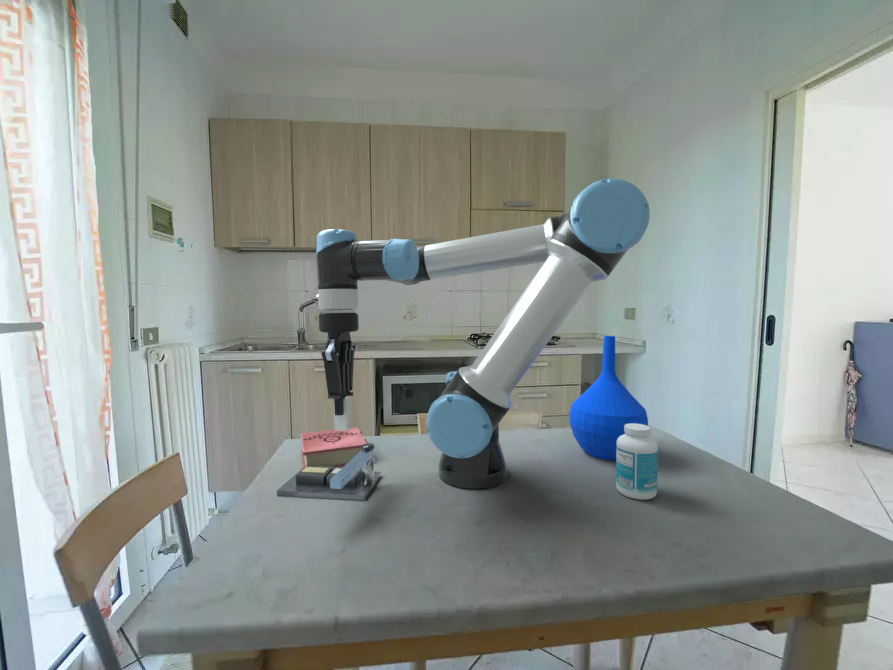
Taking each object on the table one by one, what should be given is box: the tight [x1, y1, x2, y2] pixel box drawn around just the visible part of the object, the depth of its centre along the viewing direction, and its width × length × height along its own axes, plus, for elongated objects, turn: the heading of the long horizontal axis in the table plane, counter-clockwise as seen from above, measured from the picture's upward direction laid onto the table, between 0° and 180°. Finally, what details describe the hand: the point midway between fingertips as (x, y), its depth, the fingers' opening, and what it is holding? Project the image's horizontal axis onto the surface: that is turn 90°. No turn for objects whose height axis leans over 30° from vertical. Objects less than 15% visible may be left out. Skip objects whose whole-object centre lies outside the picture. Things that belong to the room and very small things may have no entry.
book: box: [300, 426, 368, 469], centre depth 99 cm, size 14×15×5 cm
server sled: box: [276, 455, 382, 501], centre depth 83 cm, size 18×11×6 cm, turn 83°
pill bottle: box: [615, 423, 659, 501], centre depth 79 cm, size 8×7×14 cm
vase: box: [568, 335, 649, 462], centre depth 99 cm, size 18×18×30 cm
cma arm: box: [330, 442, 375, 489], centre depth 75 cm, size 16×3×2 cm, turn 170°
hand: (341, 429), depth 79 cm, fingers closed
